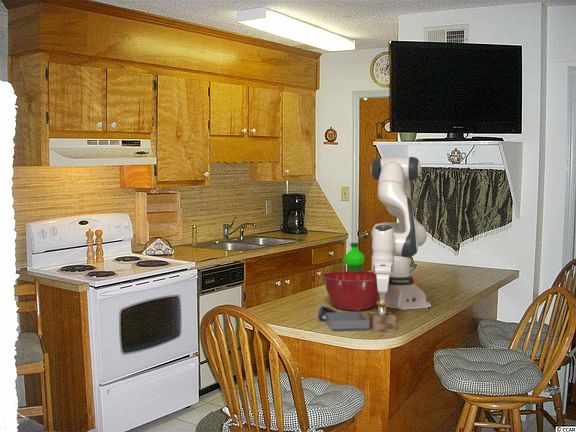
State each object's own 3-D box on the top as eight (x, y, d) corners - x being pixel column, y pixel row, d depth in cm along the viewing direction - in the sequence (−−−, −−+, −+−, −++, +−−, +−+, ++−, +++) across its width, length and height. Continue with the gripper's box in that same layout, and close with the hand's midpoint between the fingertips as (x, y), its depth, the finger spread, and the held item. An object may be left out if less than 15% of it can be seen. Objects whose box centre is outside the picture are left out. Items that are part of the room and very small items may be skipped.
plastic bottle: (343, 291, 329) (343, 244, 327) (346, 287, 339) (346, 241, 337) (362, 292, 326) (363, 244, 324) (364, 288, 337) (365, 242, 335)
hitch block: (389, 325, 259) (389, 311, 258) (396, 331, 250) (396, 316, 249) (368, 326, 258) (368, 312, 257) (373, 332, 249) (374, 317, 248)
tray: (360, 321, 266) (360, 311, 266) (369, 330, 251) (369, 320, 251) (325, 322, 264) (325, 312, 264) (332, 331, 250) (332, 321, 249)
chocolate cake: (344, 318, 273) (324, 299, 274) (347, 318, 266) (327, 297, 267) (329, 334, 270) (309, 315, 271) (332, 334, 264) (311, 314, 264)
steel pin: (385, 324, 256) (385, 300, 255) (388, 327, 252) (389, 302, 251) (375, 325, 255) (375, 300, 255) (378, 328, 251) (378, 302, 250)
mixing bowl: (312, 304, 299) (312, 271, 298) (366, 299, 309) (366, 268, 308) (338, 317, 273) (338, 282, 271) (395, 312, 283) (396, 278, 281)
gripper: (374, 262, 262) (374, 295, 263) (374, 269, 242) (374, 305, 243) (390, 262, 261) (389, 295, 262) (391, 270, 241) (390, 305, 242)
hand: (382, 300), depth 252 cm, fingers open, 8 cm apart
